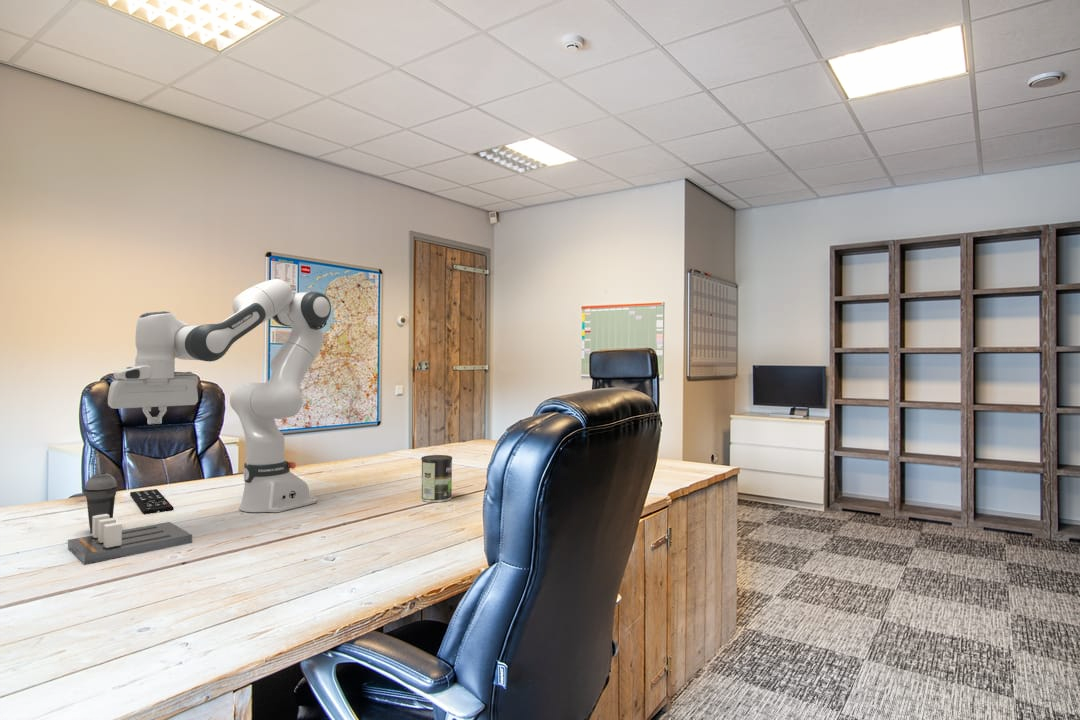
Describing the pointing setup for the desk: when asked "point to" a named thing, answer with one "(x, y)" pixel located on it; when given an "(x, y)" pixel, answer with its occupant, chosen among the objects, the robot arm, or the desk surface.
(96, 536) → the block
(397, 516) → the desk surface
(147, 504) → the remote control
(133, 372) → the robot arm
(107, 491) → the beverage cup
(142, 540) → the grey slider panel
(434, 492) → the coffee can
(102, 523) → the block
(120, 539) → the block
